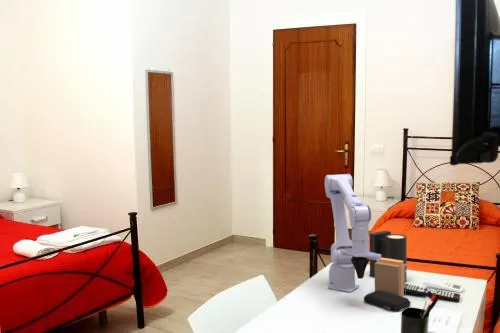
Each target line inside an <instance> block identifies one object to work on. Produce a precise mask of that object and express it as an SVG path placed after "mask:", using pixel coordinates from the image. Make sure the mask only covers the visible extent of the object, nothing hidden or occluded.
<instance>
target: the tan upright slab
mask: <svg viewBox="0 0 500 333" xmlns="http://www.w3.org/2000/svg"><path fill="white" fill-rule="evenodd" d="M404 288H405V289H406V282H405V264H404V261H402V260H395V259H388V258H381V260H380V261H377V262H376V263H375V278H374V292H375V291H378V290H380V291H384V292H388V293H391V294H395V295H398V296H401V297H404V295H405V294H404Z"/></svg>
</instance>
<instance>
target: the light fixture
mask: <svg viewBox="0 0 500 333" xmlns="http://www.w3.org/2000/svg"><path fill="white" fill-rule="evenodd" d="M369 252H373V253H376V254H381V258H388V259H395V260H402V261H404V264H405V283H406V282H407V280H408V278H407V275H408V274H407V272H408V271H407V270H408V269H407V268H408V267H407V262H408V261H407V255H408V253H407V236H406V235H404V234H399V233H392V232H391V230H387V229H385V230H381V231H376V232H371V233H369ZM376 262H377V261H376V260H372V259H370V260H369V277H370V278H374V279H375V263H376Z"/></svg>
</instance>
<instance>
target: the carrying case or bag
mask: <svg viewBox="0 0 500 333" xmlns="http://www.w3.org/2000/svg"><path fill="white" fill-rule="evenodd" d="M363 301H364V302H365V303H366V304H369V305H370V304H371V305H373V306H376V307H380V308H382V309H385V310H388V311H391V312H399V311H401V310H404V309H406V308H409V306H410V305H411V303H412V302H411V301H410V300H409V299H408V298H407V297H404V296H402V297H401V296H398V295H395V294H391V293H388V292H384V291H380V290H378V291H375V290H374V291H372V292H370V293H367V294H366V295H365V296H363Z"/></svg>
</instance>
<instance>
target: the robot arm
mask: <svg viewBox="0 0 500 333" xmlns="http://www.w3.org/2000/svg"><path fill="white" fill-rule="evenodd" d="M353 182H354V181H353V177H352V175H351V174H350V173H346V174H345V173H344V174H326V175H325V177H324V189H325V194H326V195H325V196H326V198H329V199H330V203H331V208H332V215H333V220H334V221H333V222H334V229H335V236H336V241H334V243H332V245H331V246H330V259H331V265H330V266H329V269H328V289H330V290H331V289H332V290H337V291H341V292H346V293H352V292H353V291H355V290H356V289H358V288H359V287H360V285H359V284H356V276H357V279H360V280H361V279H363V278H365V272H366V269H367V266H368V264H369V263H370V259H372V260H376V261H380V260H381V254H376V253H373V252H370V233H369V229H370V228H369V223H370V221H371V220H372V211H371V208H370V205H368V204H366V203H365V204H364V203H363V200H362V199H361V198H360V195H359V194H358V193H356V192H354V190H353V186H354V185H353V184H354V183H353ZM346 208H347V211H348V217H349V225H350V227H351V239H350V235H349V226H348V220H347V215H346Z"/></svg>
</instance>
